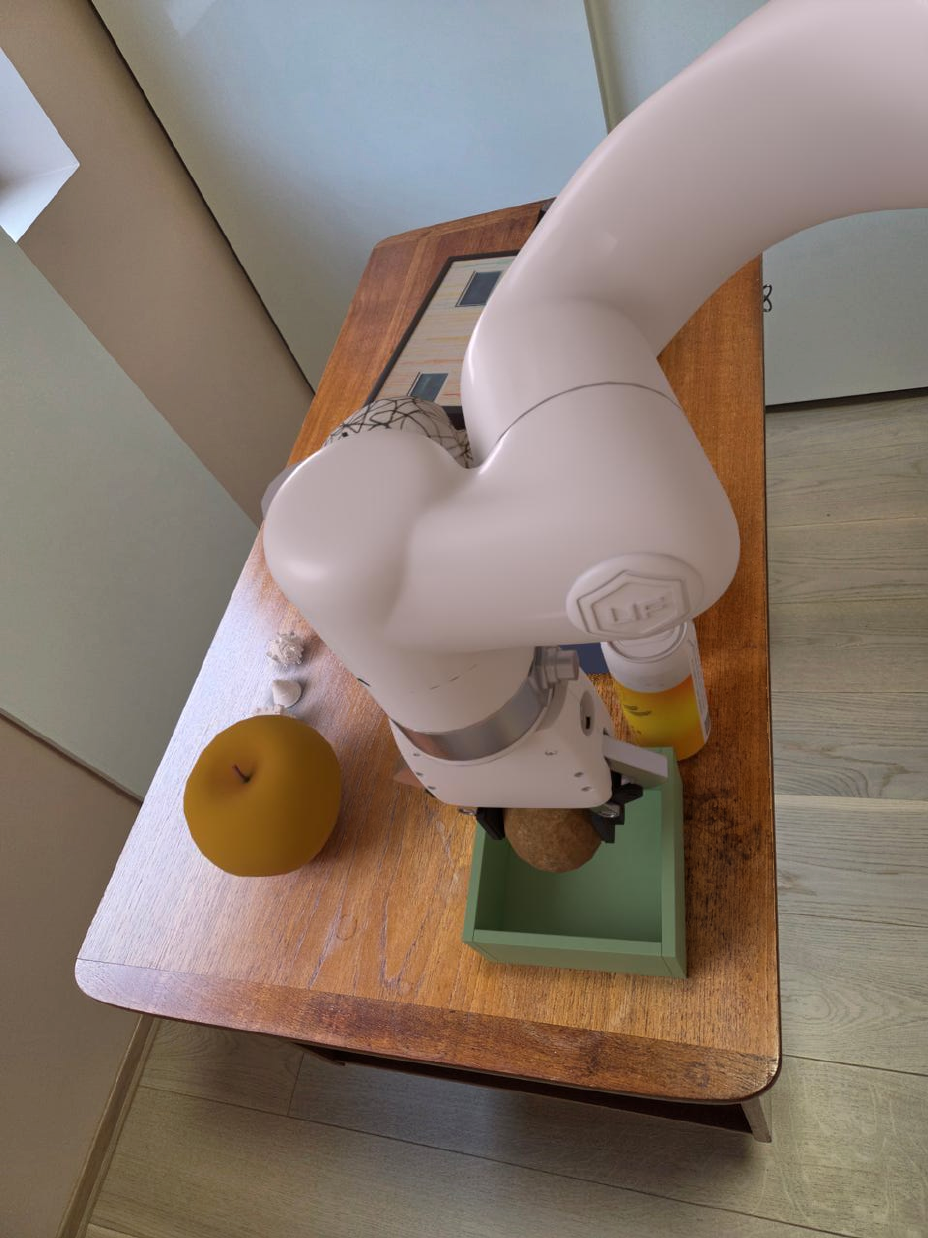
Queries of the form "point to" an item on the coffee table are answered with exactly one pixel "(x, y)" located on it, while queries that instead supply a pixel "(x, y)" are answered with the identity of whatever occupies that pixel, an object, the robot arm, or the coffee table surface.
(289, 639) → the seashells
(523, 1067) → the coffee table surface
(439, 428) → the sculpture
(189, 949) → the coffee table surface
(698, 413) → the coffee table surface
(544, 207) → the lighter
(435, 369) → the framed painting
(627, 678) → the beer can
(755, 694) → the coffee table surface
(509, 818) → the fruit
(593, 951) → the green bin
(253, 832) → the apple
